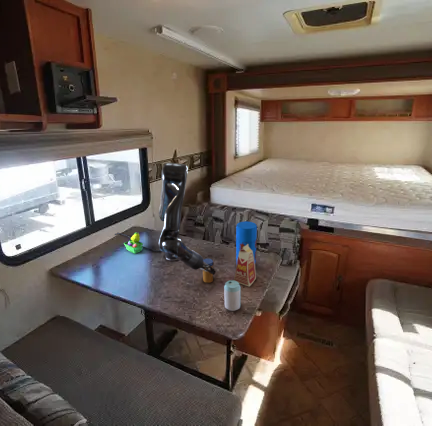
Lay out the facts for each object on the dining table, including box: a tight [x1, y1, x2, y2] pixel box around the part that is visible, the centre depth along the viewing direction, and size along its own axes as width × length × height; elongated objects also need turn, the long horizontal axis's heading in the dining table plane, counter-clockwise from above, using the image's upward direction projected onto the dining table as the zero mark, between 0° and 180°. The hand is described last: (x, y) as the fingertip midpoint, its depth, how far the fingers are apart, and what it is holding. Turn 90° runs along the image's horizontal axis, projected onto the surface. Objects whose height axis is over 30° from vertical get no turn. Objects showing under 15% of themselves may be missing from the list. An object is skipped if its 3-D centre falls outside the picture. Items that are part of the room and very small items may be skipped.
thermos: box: [235, 221, 258, 266], centre depth 154 cm, size 11×11×25 cm
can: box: [223, 279, 242, 312], centre depth 124 cm, size 7×7×12 cm
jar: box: [202, 264, 214, 284], centre depth 145 cm, size 5×5×11 cm
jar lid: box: [203, 258, 214, 266], centre depth 144 cm, size 6×6×2 cm
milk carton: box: [233, 244, 257, 287], centre depth 143 cm, size 9×9×20 cm
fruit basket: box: [123, 232, 144, 255], centre depth 180 cm, size 11×9×11 cm
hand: (210, 270), depth 147 cm, fingers open, 5 cm apart
